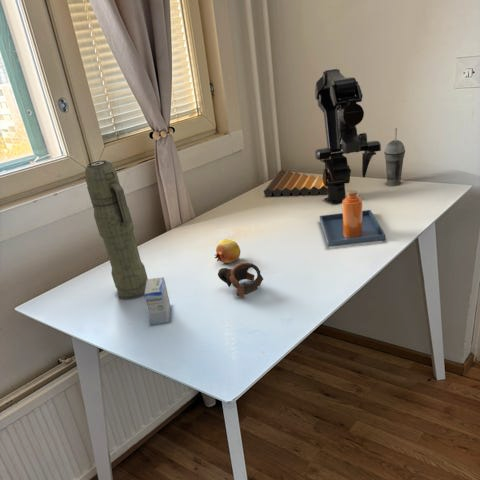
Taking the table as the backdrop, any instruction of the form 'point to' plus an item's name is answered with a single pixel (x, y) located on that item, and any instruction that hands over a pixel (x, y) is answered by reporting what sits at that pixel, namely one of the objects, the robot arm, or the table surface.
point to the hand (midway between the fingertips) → (348, 179)
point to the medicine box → (157, 300)
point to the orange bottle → (352, 215)
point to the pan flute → (295, 185)
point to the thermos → (116, 228)
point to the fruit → (227, 251)
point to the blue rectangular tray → (335, 229)
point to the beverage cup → (394, 161)
